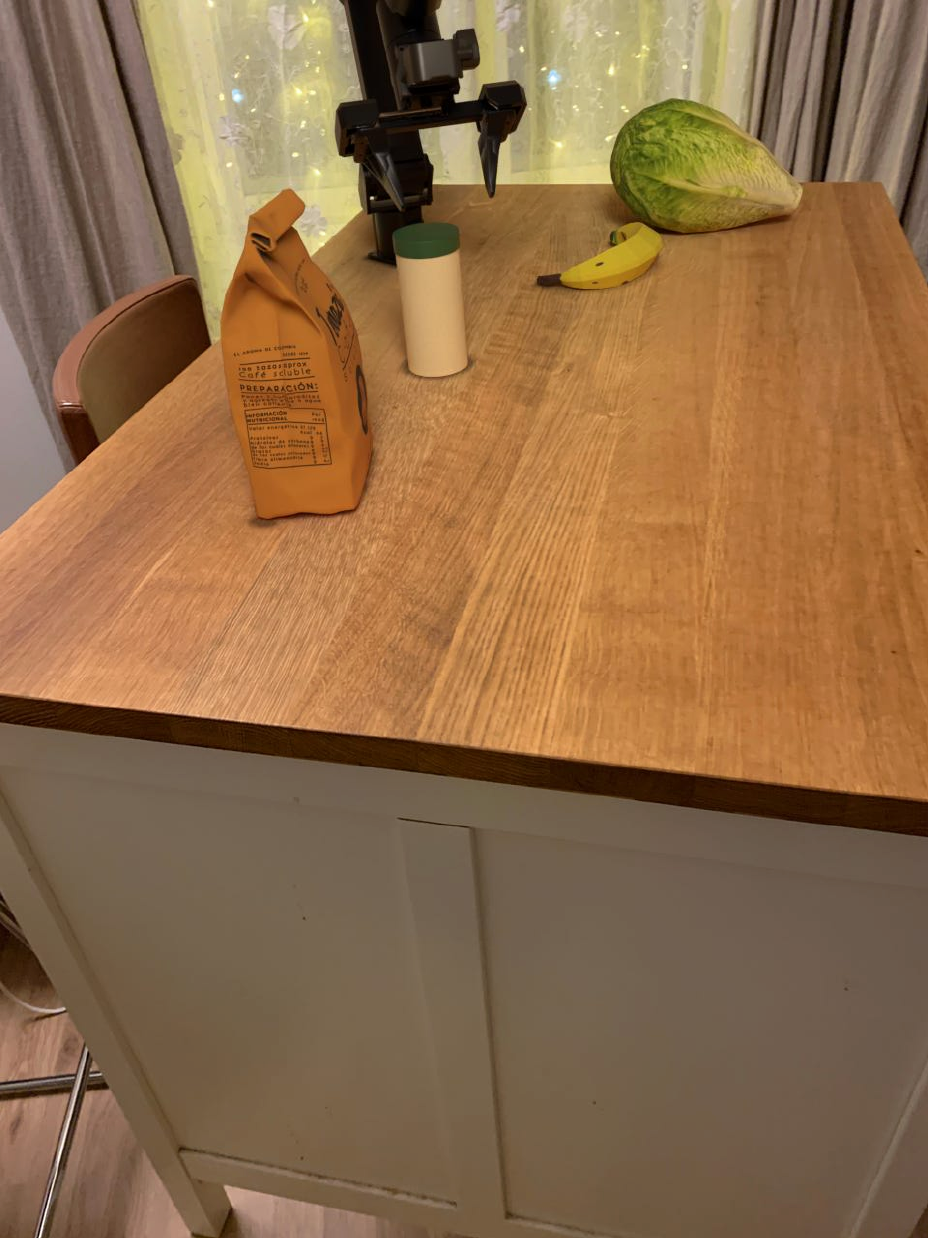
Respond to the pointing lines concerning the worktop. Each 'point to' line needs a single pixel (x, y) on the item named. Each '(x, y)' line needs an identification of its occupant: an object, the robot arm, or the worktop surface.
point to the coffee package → (293, 373)
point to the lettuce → (697, 170)
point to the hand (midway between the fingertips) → (448, 202)
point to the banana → (613, 260)
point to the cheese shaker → (431, 298)
